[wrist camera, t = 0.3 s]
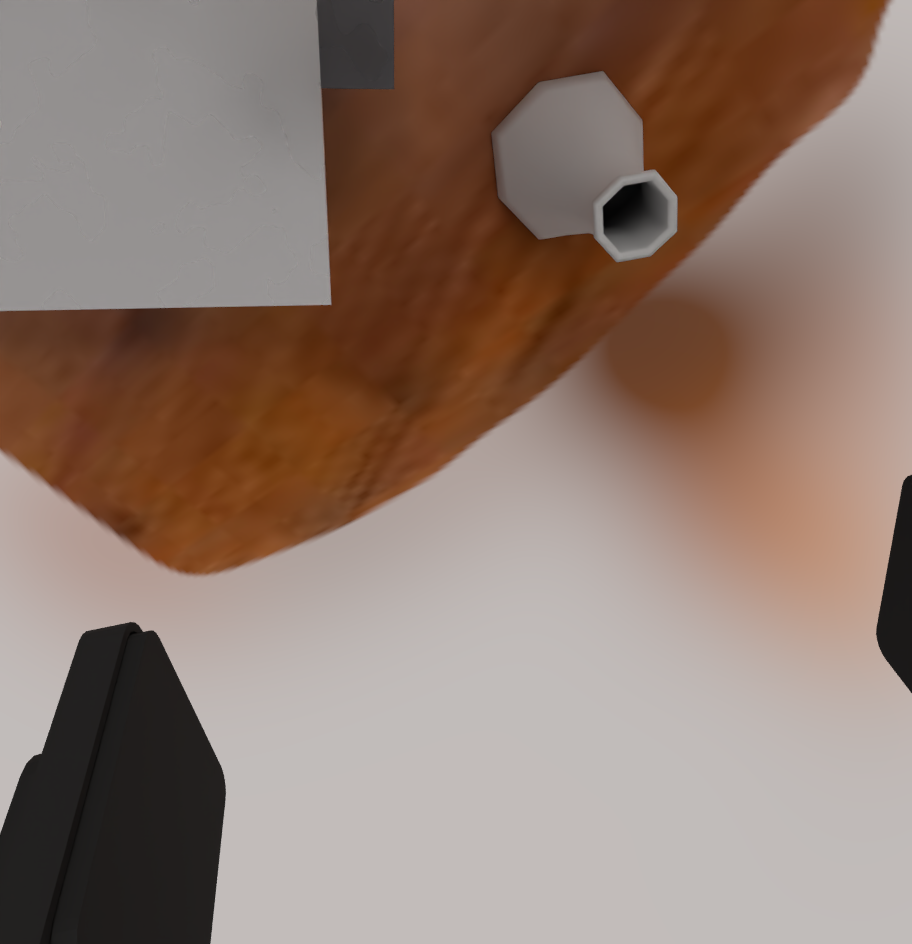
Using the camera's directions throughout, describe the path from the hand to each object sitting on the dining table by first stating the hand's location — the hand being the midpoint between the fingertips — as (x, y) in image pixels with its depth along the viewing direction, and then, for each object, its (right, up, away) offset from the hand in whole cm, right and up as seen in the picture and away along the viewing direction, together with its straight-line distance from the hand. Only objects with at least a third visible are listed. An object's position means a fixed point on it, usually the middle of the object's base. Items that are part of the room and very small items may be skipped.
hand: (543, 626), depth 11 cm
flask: (+4, +16, +28) cm, 33 cm away
